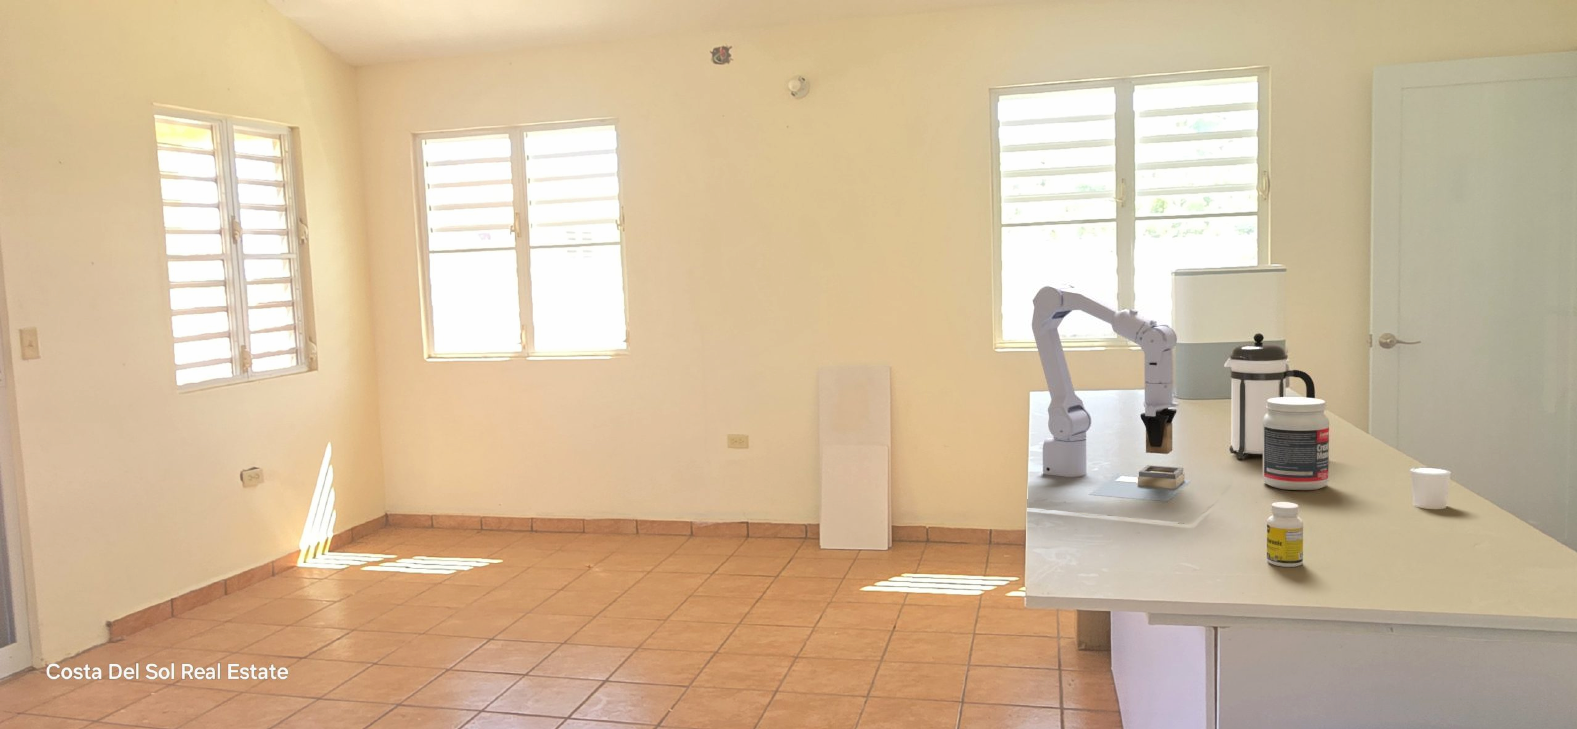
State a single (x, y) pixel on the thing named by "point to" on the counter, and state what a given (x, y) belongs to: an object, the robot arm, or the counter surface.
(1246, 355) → the coffee press
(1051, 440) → the robot arm
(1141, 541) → the counter surface
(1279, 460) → the supplement tub
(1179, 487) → the board
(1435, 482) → the white cup
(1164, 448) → the walnut block
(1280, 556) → the supplement bottle
